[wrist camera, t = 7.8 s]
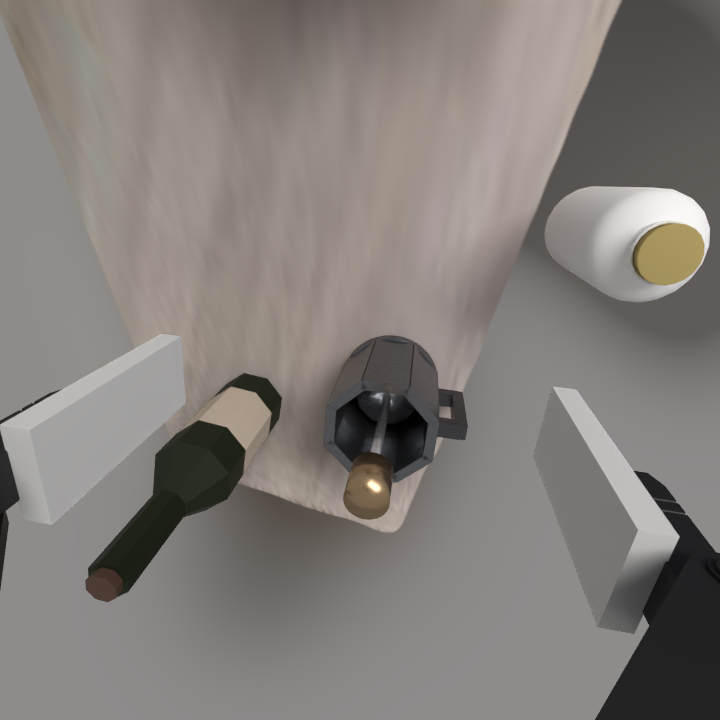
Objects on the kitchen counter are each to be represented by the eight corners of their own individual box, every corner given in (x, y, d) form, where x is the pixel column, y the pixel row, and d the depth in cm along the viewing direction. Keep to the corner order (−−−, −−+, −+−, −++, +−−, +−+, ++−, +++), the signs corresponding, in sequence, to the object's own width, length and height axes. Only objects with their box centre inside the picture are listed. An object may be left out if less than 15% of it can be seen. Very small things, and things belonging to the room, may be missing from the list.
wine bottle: (240, 361, 58) (66, 524, 30) (294, 396, 58) (172, 587, 31) (213, 406, 61) (34, 591, 33) (264, 439, 62) (130, 646, 34)
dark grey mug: (348, 329, 54) (325, 371, 42) (468, 345, 52) (479, 393, 40) (341, 413, 58) (319, 472, 46) (452, 429, 57) (458, 495, 45)
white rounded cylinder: (568, 285, 48) (641, 338, 32) (526, 223, 47) (578, 245, 30) (643, 235, 45) (765, 265, 29) (600, 167, 44) (704, 158, 27)
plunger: (360, 362, 51) (324, 455, 33) (421, 370, 50) (417, 470, 33) (355, 415, 53) (319, 528, 36) (413, 424, 53) (405, 543, 35)
